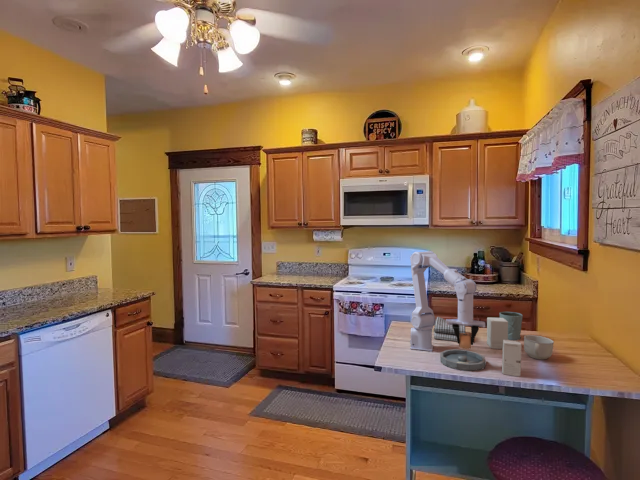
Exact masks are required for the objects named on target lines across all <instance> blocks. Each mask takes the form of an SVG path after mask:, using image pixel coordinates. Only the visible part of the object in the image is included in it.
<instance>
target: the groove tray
mask: <svg viewBox="0 0 640 480" xmlns="http://www.w3.org/2000/svg"><path fill="white" fill-rule="evenodd" d="M439 354H440V358H439V359H440V361H439V362H440V363H441V364H442V365H443V366H445V367H447V368H450V369H452V370H457V371H464V372H473V371H474V372H475V371H481V370H483V369H485V367H486V363H487V362H486V357H485V356H484V355H483V354H480V353H479V352H476V351H471V350H469V349H457V348H456V349H455V348H454V349H453V348H452V349H445V350H443V351H441V352H440V353H439Z"/></svg>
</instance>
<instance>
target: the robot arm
mask: <svg viewBox="0 0 640 480" xmlns="http://www.w3.org/2000/svg"><path fill="white" fill-rule="evenodd" d="M409 259H410V266H411V267H410V268H411V269H410V272H411V278H412V280H411V281H412V286H413V294H414V295H413V296H414V300H415V301H414V302H415V309H414V310H413V311H412V312H411V316H412V317H411V325H412V327H411V328H410V342H409V344H410V349H411V350H416V351H417V350H418V351H426V352H427V351H429V352H433V350H434V349H433V348H434V345H433V333H432V332H433V329H434V327H435V326H434V325H435V323H436V316H435V314H434V310H433V309H432V308H431V307H430V306H429V302H428V301H429V300H428V295H427V293H428V292H427V287H426V286H427V285H426V281H425V280H426V279H425V271H426V270H427V269H428V268H430V267H433V269H435V270H437V271H438V272H439V273H440V274H441V275H443V278H444V280H446V282H448V283H449V284H450V285H451V286H452V287H454V292H455V293H456V298H457V318H451V319H450V318H449V319H448V318H446V319H445V320H446V325H452V326H453V329H454V332H455V334H456V337H457V341H456V343H457V344H458V345H459V344H460V341H459V325H461V326H465V327H470V331H471V332H470V333H471V334H470V335H471V346H473V345H474V342H475V339H476V335H477V333H478V332H479V330H480V329H479V327H480V328H482V329H483V328H486V321H481V320H475V319H474V294H475V293H476V291H477V284H476V282H475V281H474V280H473V278H469V279H468V278H466V276H463V274H461V273H459V272H458V269H456V268H450V267H448V265H446V264H445V263H444V262H443V261H442V260H441V259H440V258H439V257H438V254H436V253H435V252H434V251H433V250H427V251H414V252H413V253H412V254H411V255H410V258H409Z"/></svg>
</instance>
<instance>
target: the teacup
mask: <svg viewBox="0 0 640 480" xmlns="http://www.w3.org/2000/svg"><path fill="white" fill-rule="evenodd" d="M523 340H524V341H523V350H524V352H525V353H526V354H527V355H528V356H529V357H530V358H533V359H536V360H547V359H548V358H550V357H551V356H552V354H553V352H554V351H553V349H554V343H555V341H554V340H552V339H551V338H548V337H545V336H541V335H534V334H527V335H524V336H523Z"/></svg>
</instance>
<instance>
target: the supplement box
mask: <svg viewBox="0 0 640 480" xmlns="http://www.w3.org/2000/svg"><path fill="white" fill-rule="evenodd" d="M503 340H508V321H506V320H505V319H504V318H500V317H487V318H486V344H487V345H488V346H489V348H490V349H495V350H497V349H498V350H503Z"/></svg>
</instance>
